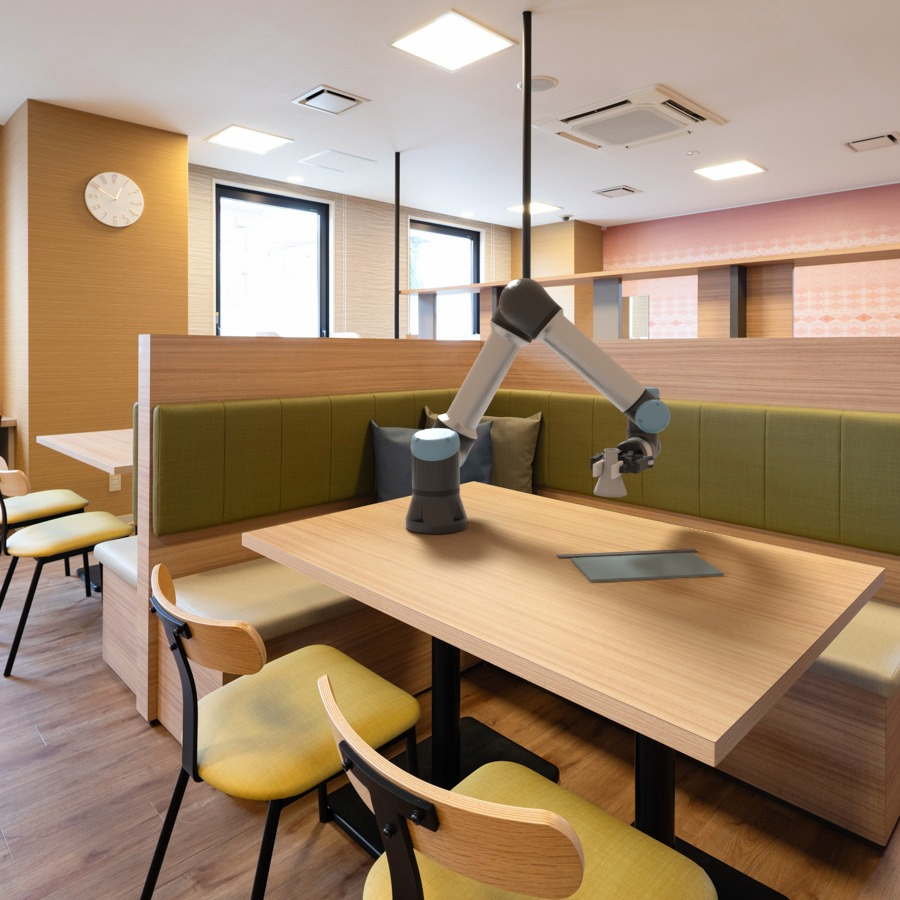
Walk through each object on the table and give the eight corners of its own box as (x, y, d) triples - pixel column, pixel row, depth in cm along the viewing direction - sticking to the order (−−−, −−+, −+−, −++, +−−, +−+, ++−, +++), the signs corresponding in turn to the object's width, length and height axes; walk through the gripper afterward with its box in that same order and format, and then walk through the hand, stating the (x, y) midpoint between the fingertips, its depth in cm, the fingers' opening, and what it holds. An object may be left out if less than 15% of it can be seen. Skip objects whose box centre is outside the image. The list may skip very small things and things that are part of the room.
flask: (628, 492, 148) (630, 447, 146) (626, 499, 141) (627, 452, 139) (595, 490, 150) (596, 446, 149) (591, 497, 143) (592, 450, 142)
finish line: (559, 558, 139) (559, 556, 139) (557, 555, 141) (557, 554, 141) (697, 552, 142) (697, 550, 142) (694, 549, 144) (694, 548, 144)
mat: (590, 582, 125) (590, 579, 125) (570, 560, 138) (570, 558, 138) (723, 575, 128) (724, 573, 128) (692, 554, 140) (692, 552, 140)
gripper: (666, 473, 157) (642, 493, 137) (597, 468, 165) (565, 485, 144) (667, 441, 156) (644, 456, 135) (598, 437, 163) (566, 450, 143)
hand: (603, 471), depth 140 cm, fingers closed on flask, 3 cm apart
